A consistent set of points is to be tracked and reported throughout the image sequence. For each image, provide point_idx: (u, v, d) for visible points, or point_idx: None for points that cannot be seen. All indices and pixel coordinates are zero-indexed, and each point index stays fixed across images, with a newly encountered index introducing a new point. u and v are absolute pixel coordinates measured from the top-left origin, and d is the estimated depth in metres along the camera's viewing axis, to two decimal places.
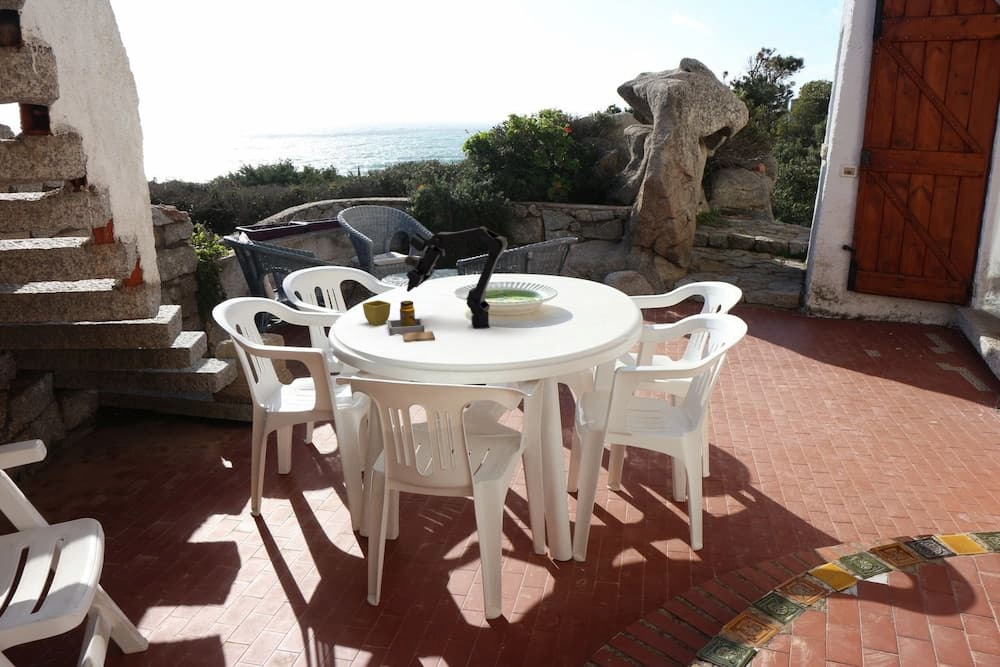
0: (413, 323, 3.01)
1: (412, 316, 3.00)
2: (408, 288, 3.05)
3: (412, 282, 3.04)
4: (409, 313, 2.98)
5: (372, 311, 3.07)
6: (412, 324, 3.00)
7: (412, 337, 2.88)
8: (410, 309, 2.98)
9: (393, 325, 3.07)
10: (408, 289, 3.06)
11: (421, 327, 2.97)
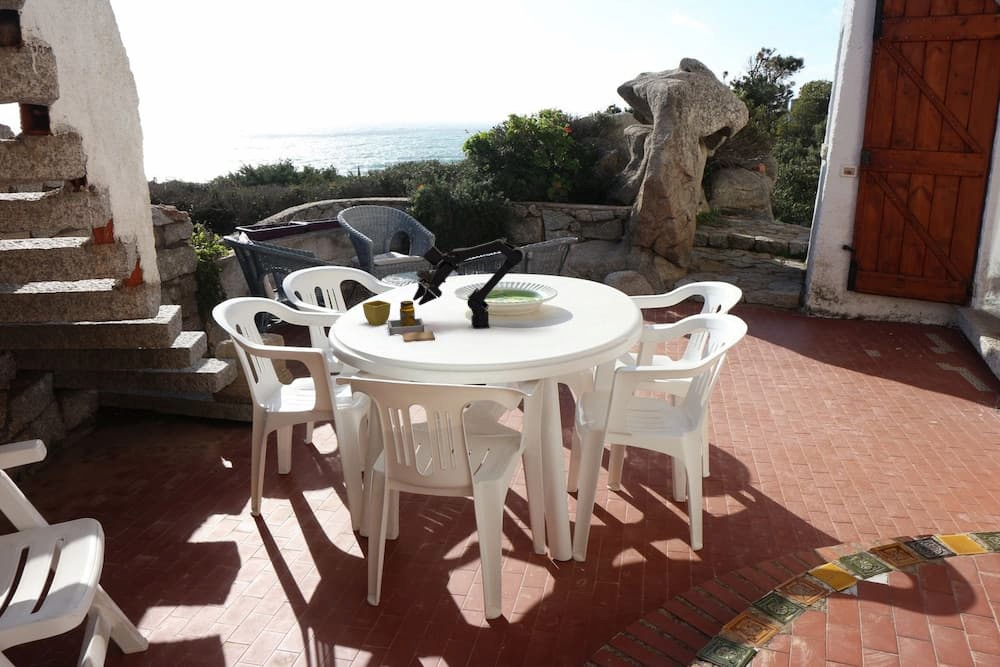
0: (413, 323, 3.01)
1: (412, 316, 3.00)
2: (421, 302, 2.97)
3: (427, 296, 2.96)
4: (409, 313, 2.98)
5: (372, 311, 3.07)
6: (412, 324, 3.00)
7: (412, 337, 2.88)
8: (410, 309, 2.98)
9: (393, 325, 3.07)
10: (421, 303, 2.97)
11: (421, 327, 2.97)
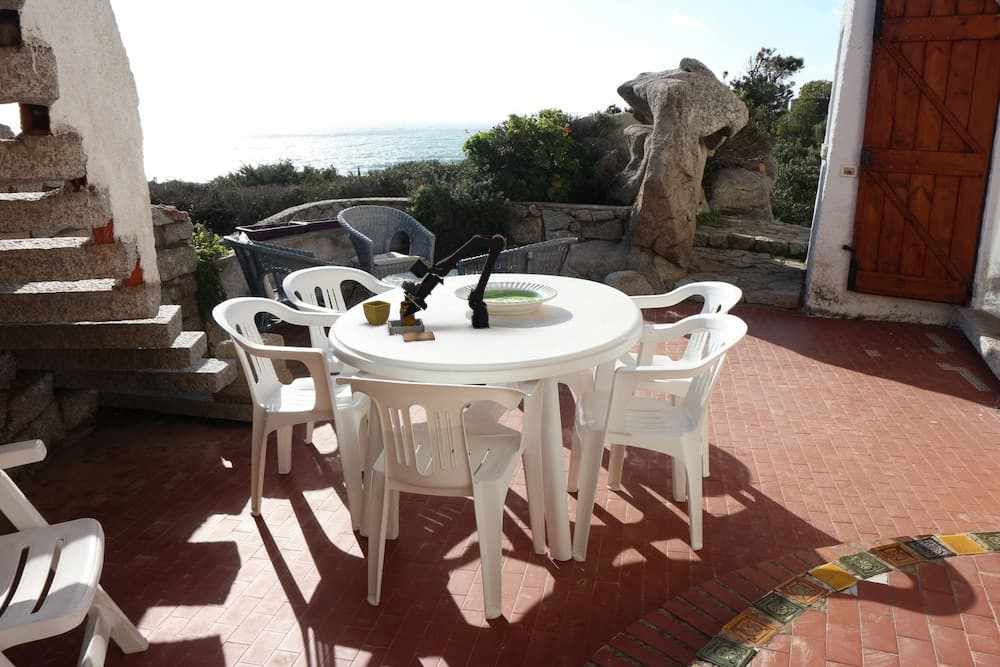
0: (413, 323, 3.01)
1: (412, 316, 3.00)
2: (406, 314, 2.97)
3: (412, 308, 2.97)
4: None
5: (372, 311, 3.07)
6: (412, 324, 3.00)
7: (412, 337, 2.88)
8: None
9: (393, 325, 3.07)
10: (405, 315, 2.97)
11: (421, 327, 2.97)
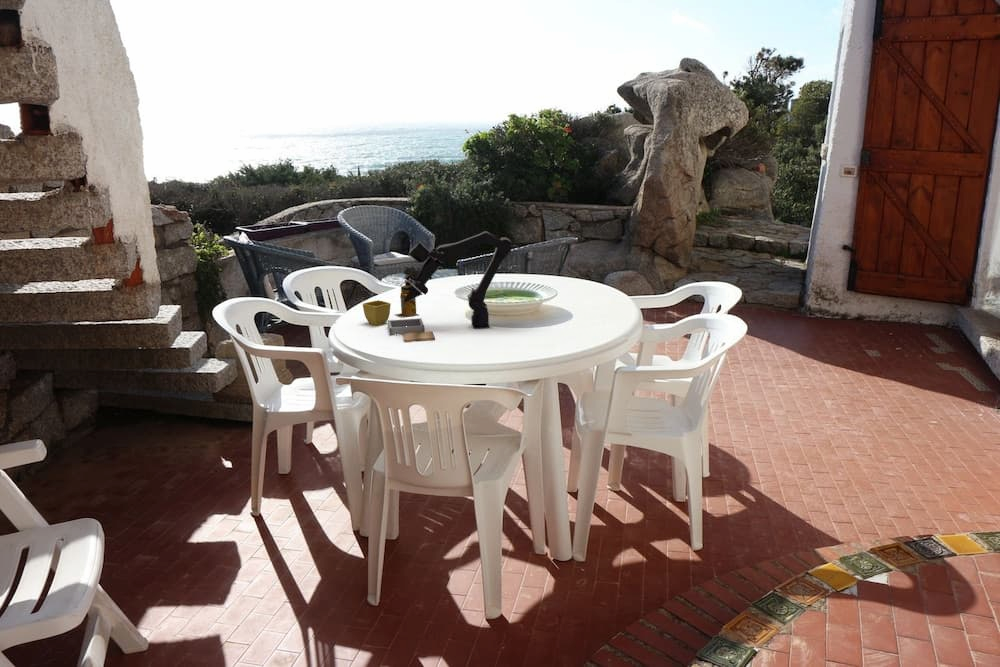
0: (414, 308, 2.98)
1: (413, 301, 2.97)
2: (406, 298, 2.94)
3: (413, 292, 2.94)
4: None
5: (372, 311, 3.07)
6: (413, 309, 2.97)
7: (412, 337, 2.88)
8: None
9: (393, 325, 3.07)
10: (406, 299, 2.94)
11: (421, 327, 2.97)
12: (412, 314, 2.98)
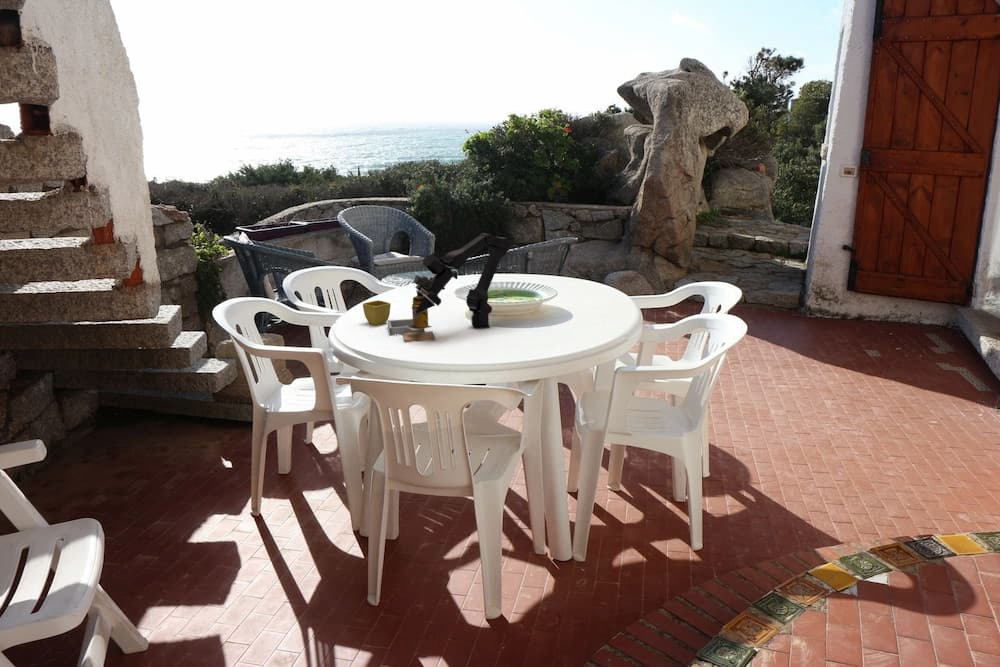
0: (426, 319, 2.88)
1: (425, 312, 2.87)
2: (418, 309, 2.84)
3: (425, 303, 2.84)
4: None
5: (372, 311, 3.07)
6: (425, 320, 2.88)
7: (412, 337, 2.88)
8: None
9: (393, 325, 3.07)
10: (418, 310, 2.84)
11: None
12: (424, 326, 2.88)
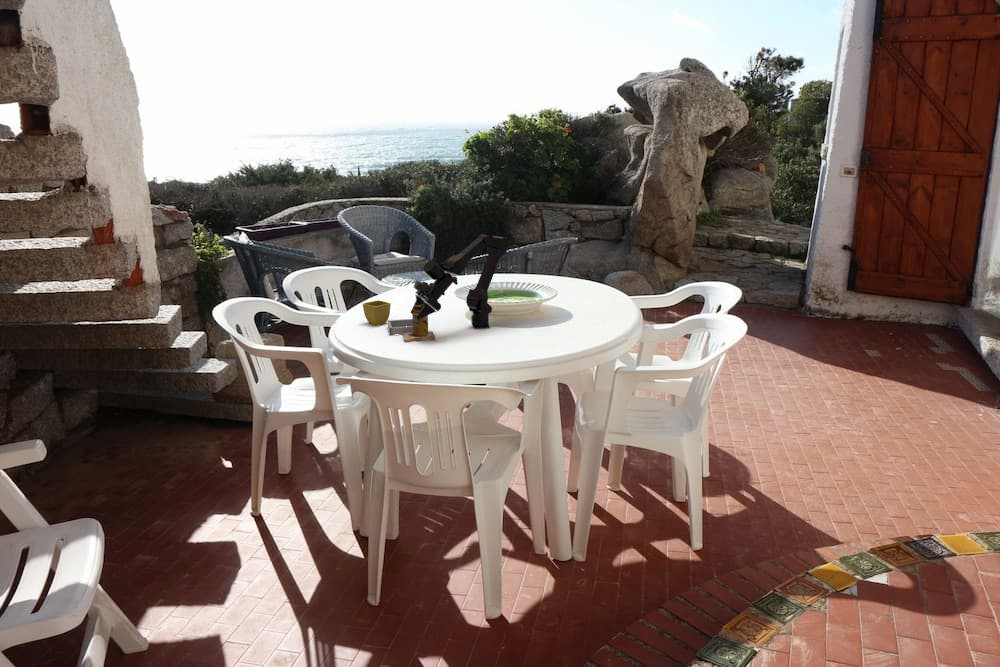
0: (426, 327, 2.89)
1: (425, 320, 2.88)
2: (419, 315, 2.83)
3: (426, 309, 2.83)
4: None
5: (372, 311, 3.07)
6: (425, 329, 2.89)
7: None
8: None
9: (393, 325, 3.07)
10: (419, 316, 2.84)
11: None
12: (424, 334, 2.89)
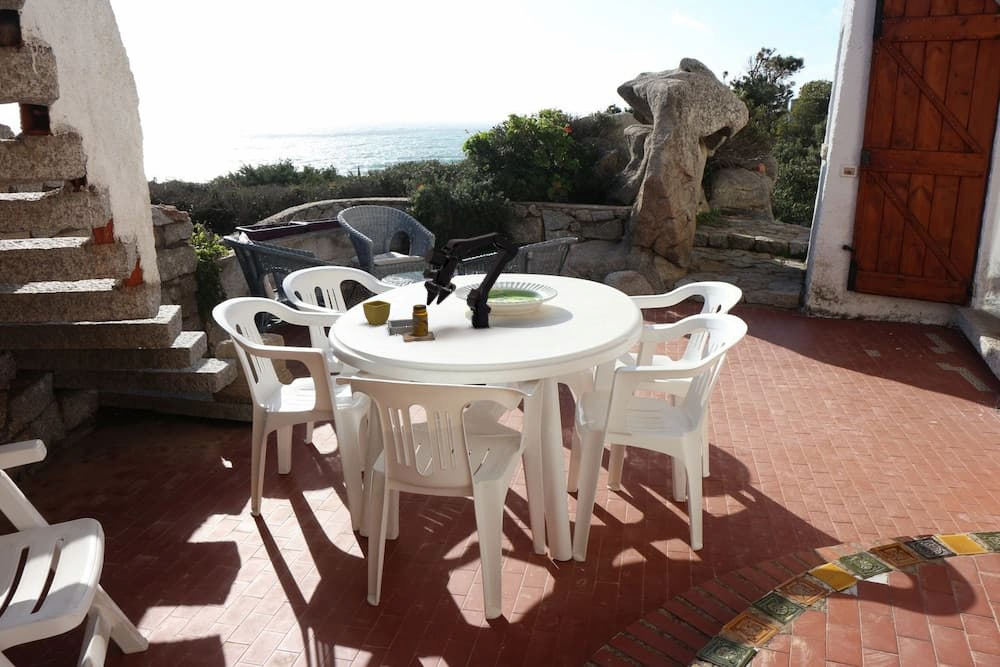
0: (426, 327, 2.89)
1: (425, 320, 2.88)
2: (427, 301, 2.91)
3: (431, 294, 2.90)
4: (422, 317, 2.87)
5: (372, 311, 3.07)
6: (425, 329, 2.89)
7: None
8: (423, 313, 2.87)
9: (393, 325, 3.07)
10: (428, 302, 2.92)
11: None
12: (424, 334, 2.89)
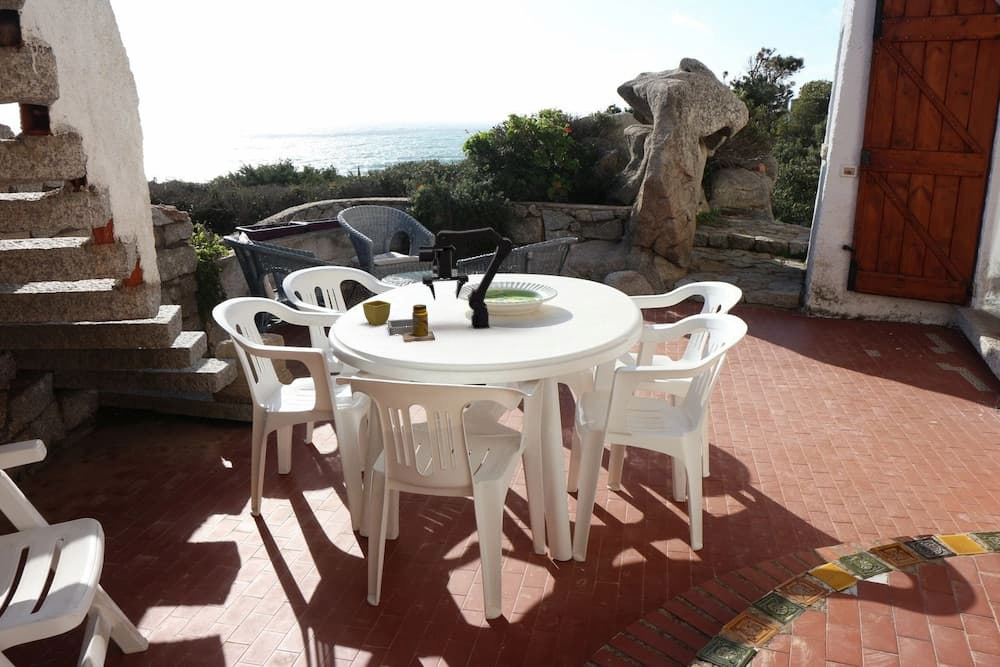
0: (426, 327, 2.89)
1: (425, 320, 2.88)
2: (433, 296, 3.01)
3: None
4: (422, 317, 2.87)
5: (372, 311, 3.07)
6: (425, 329, 2.89)
7: None
8: (423, 313, 2.87)
9: (393, 325, 3.07)
10: (433, 297, 3.01)
11: None
12: (424, 334, 2.89)
